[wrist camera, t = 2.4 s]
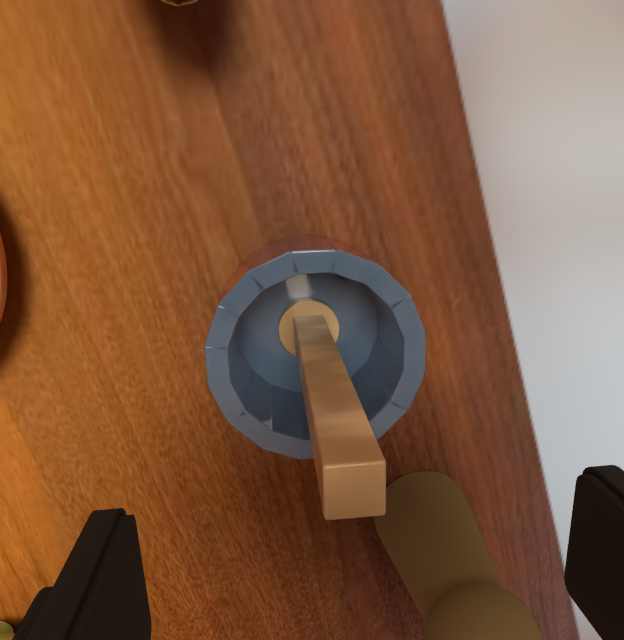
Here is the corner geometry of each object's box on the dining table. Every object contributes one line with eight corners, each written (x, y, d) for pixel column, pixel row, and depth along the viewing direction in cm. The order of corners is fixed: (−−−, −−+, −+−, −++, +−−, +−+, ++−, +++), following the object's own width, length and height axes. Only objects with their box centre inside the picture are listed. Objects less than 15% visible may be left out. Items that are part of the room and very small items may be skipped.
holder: (393, 231, 26) (428, 244, 21) (392, 397, 29) (423, 450, 23) (210, 239, 26) (194, 255, 20) (225, 409, 28) (215, 466, 23)
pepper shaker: (358, 494, 31) (407, 659, 20) (449, 455, 30) (547, 600, 20) (393, 567, 32) (455, 755, 22) (479, 530, 32) (584, 701, 22)
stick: (336, 295, 27) (419, 429, 12) (337, 352, 27) (416, 540, 13) (276, 298, 26) (287, 438, 12) (279, 356, 27) (293, 551, 13)
